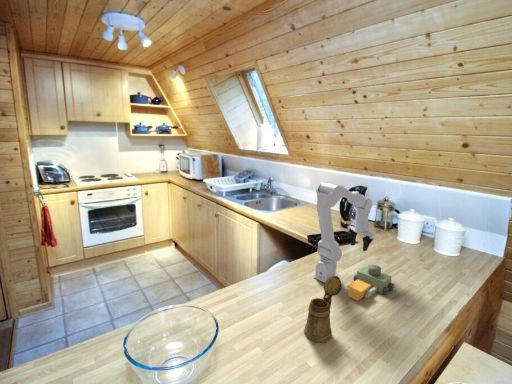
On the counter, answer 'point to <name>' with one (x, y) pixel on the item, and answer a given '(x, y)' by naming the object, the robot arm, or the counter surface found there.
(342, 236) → the egg carton
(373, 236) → the robot arm
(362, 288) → the orange slab
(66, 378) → the counter surface
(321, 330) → the wooden mug
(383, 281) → the mower housing
